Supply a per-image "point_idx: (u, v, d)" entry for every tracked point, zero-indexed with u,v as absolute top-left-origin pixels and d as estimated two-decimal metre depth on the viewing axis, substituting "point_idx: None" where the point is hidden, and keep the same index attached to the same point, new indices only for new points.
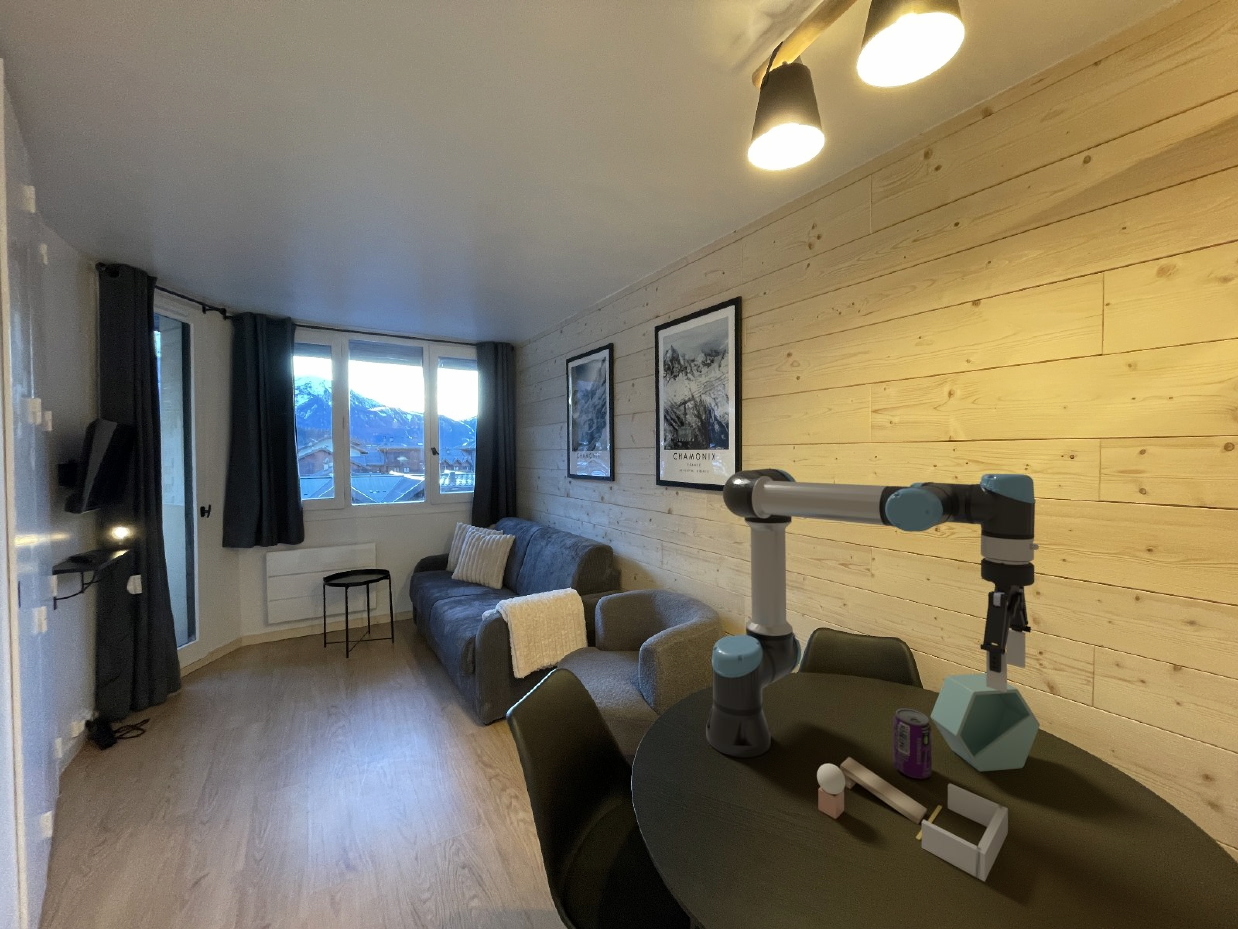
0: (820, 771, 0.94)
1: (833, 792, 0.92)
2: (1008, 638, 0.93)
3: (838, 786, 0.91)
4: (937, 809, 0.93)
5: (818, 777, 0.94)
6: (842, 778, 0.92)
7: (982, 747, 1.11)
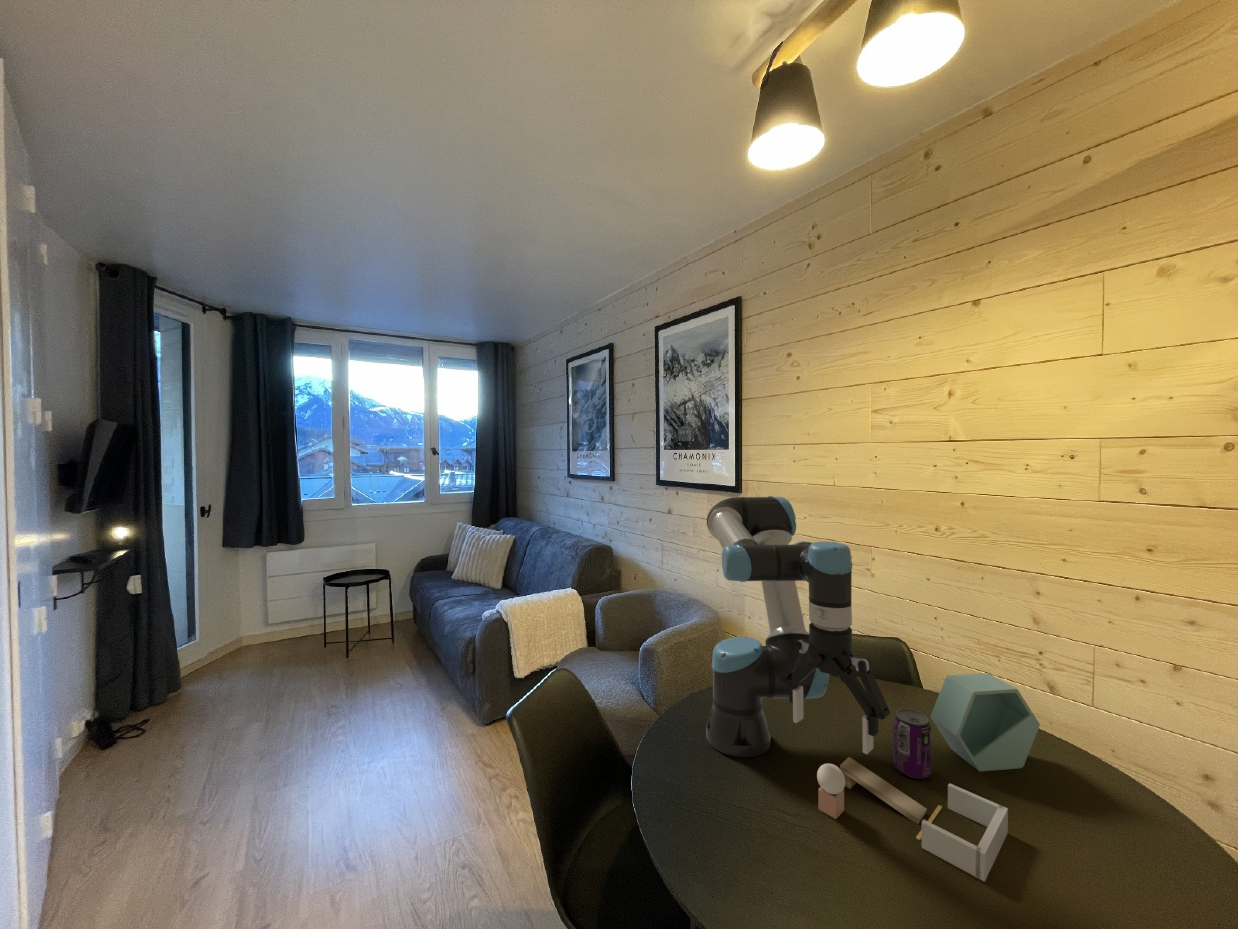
0: (820, 771, 0.94)
1: (833, 792, 0.92)
2: None
3: (838, 786, 0.91)
4: (937, 809, 0.93)
5: (818, 777, 0.94)
6: (842, 778, 0.92)
7: (982, 747, 1.11)
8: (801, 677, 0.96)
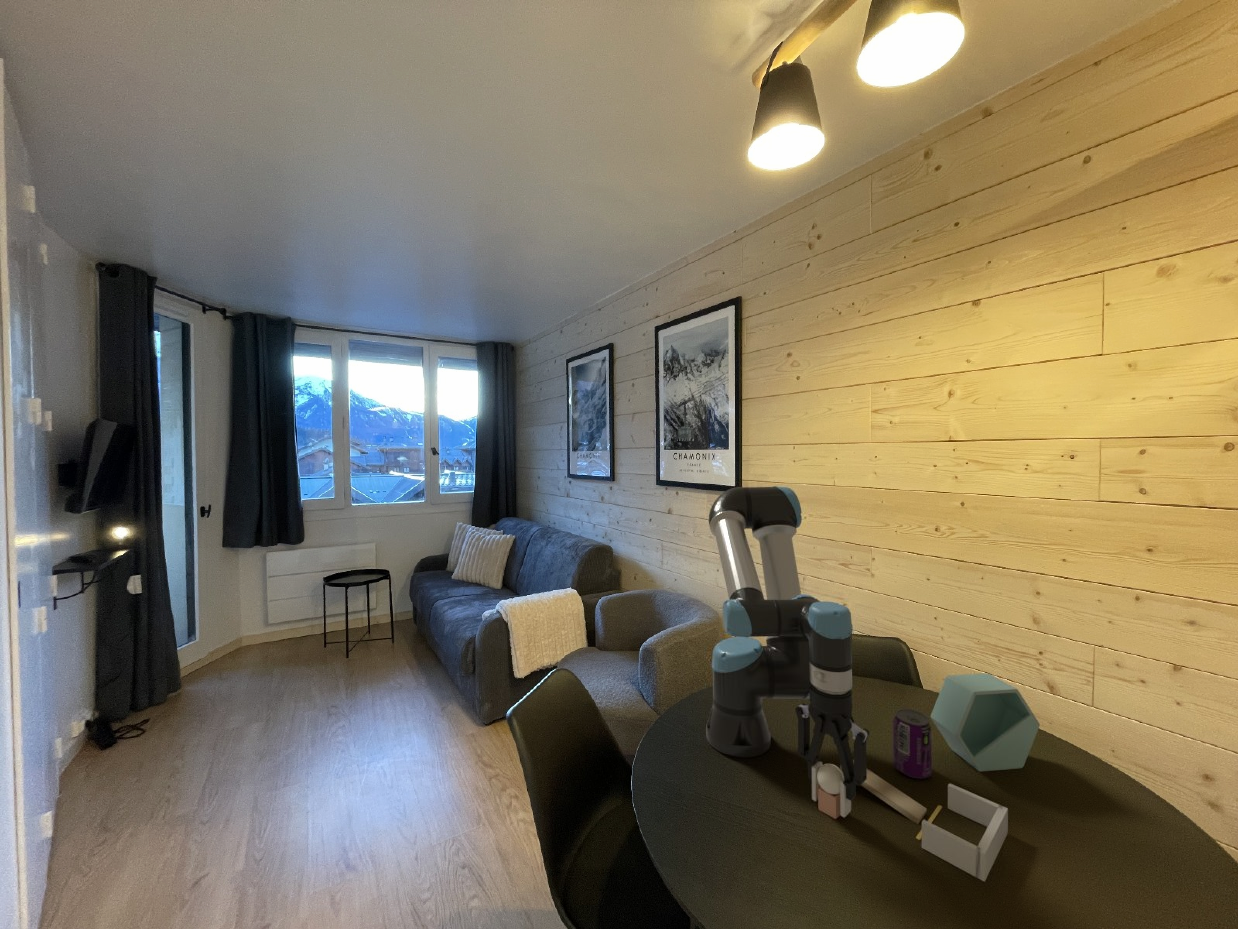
0: (820, 771, 0.94)
1: (833, 792, 0.92)
2: None
3: (838, 786, 0.91)
4: (937, 809, 0.93)
5: (818, 777, 0.94)
6: (842, 778, 0.92)
7: (982, 747, 1.11)
8: (814, 748, 0.95)
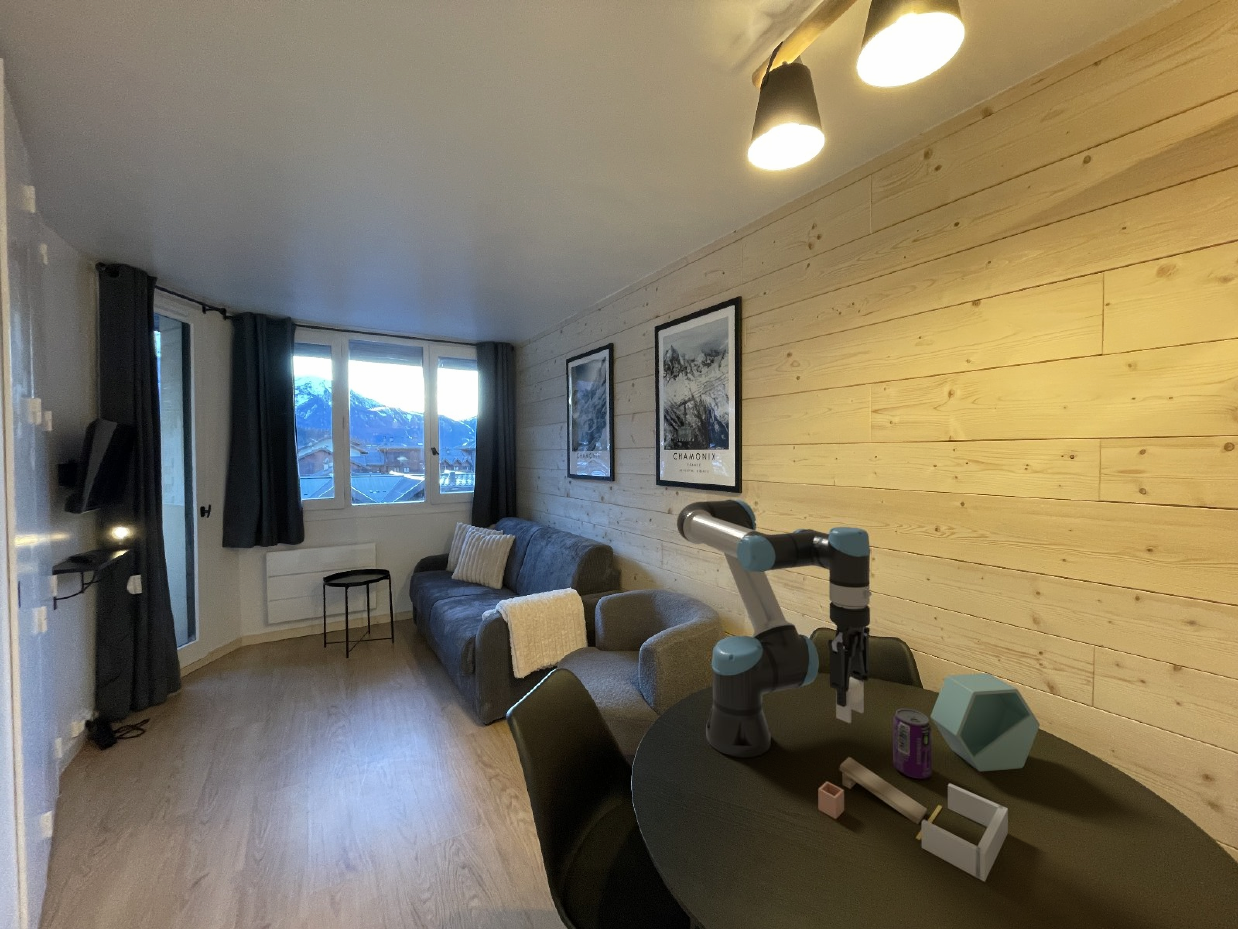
0: (854, 688, 0.99)
1: None
2: None
3: None
4: (937, 809, 0.93)
5: (856, 694, 0.98)
6: None
7: (982, 747, 1.11)
8: (849, 671, 0.98)
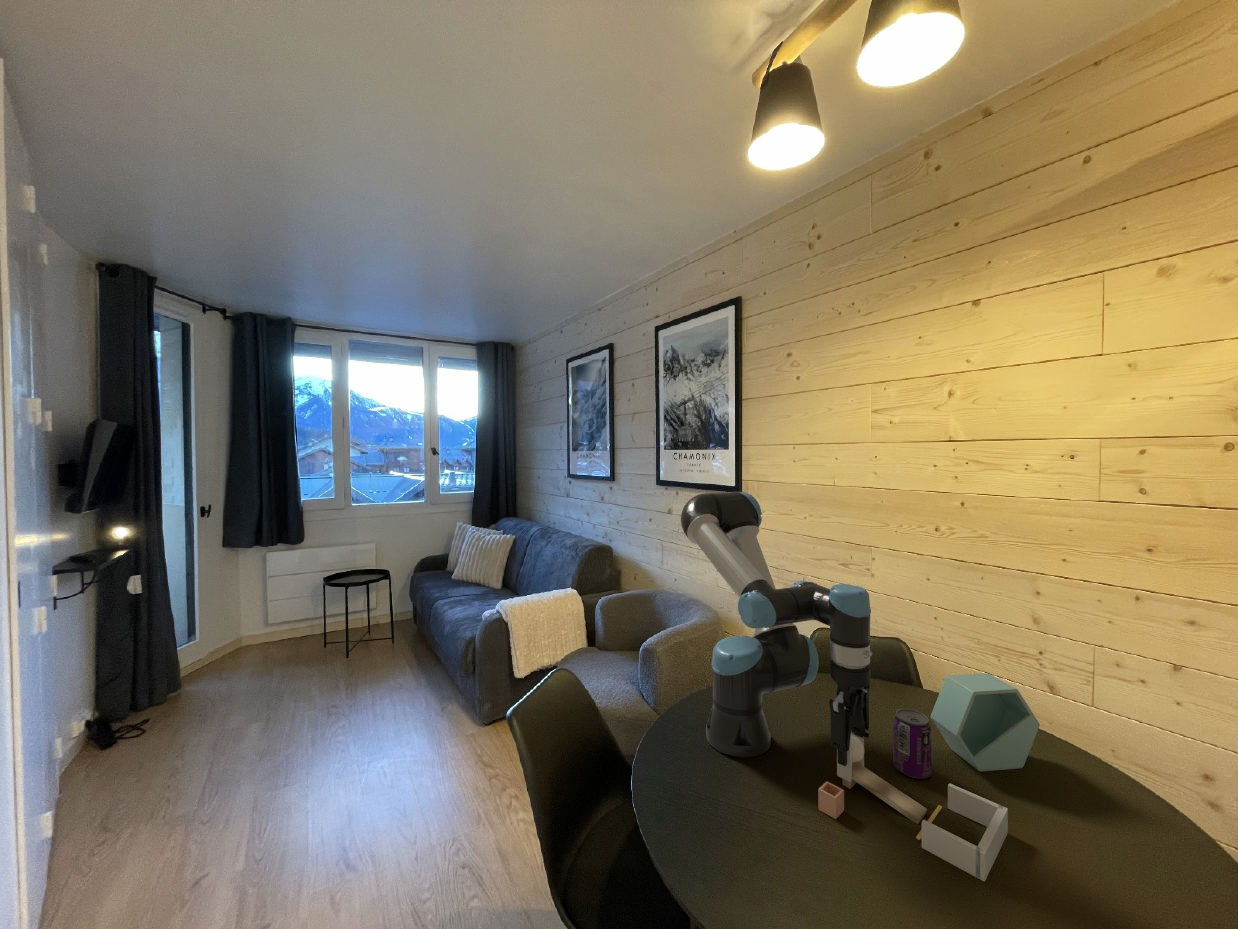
0: (855, 747, 0.99)
1: None
2: None
3: None
4: (937, 809, 0.93)
5: (856, 753, 0.99)
6: None
7: (982, 747, 1.11)
8: (850, 730, 0.98)
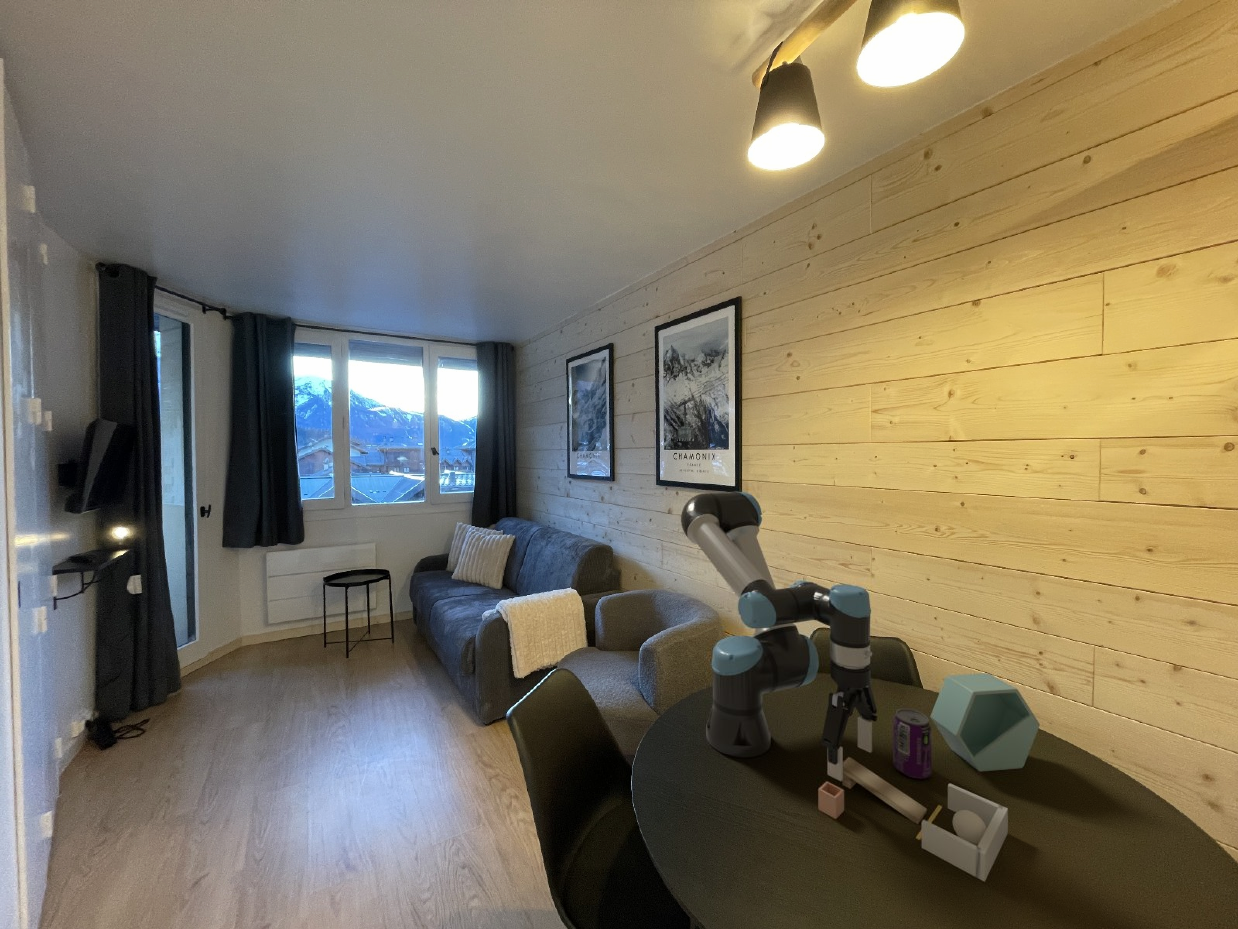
0: None
1: None
2: (859, 725, 1.06)
3: None
4: (937, 809, 0.93)
5: (957, 834, 0.86)
6: None
7: (982, 747, 1.11)
8: (844, 729, 0.97)
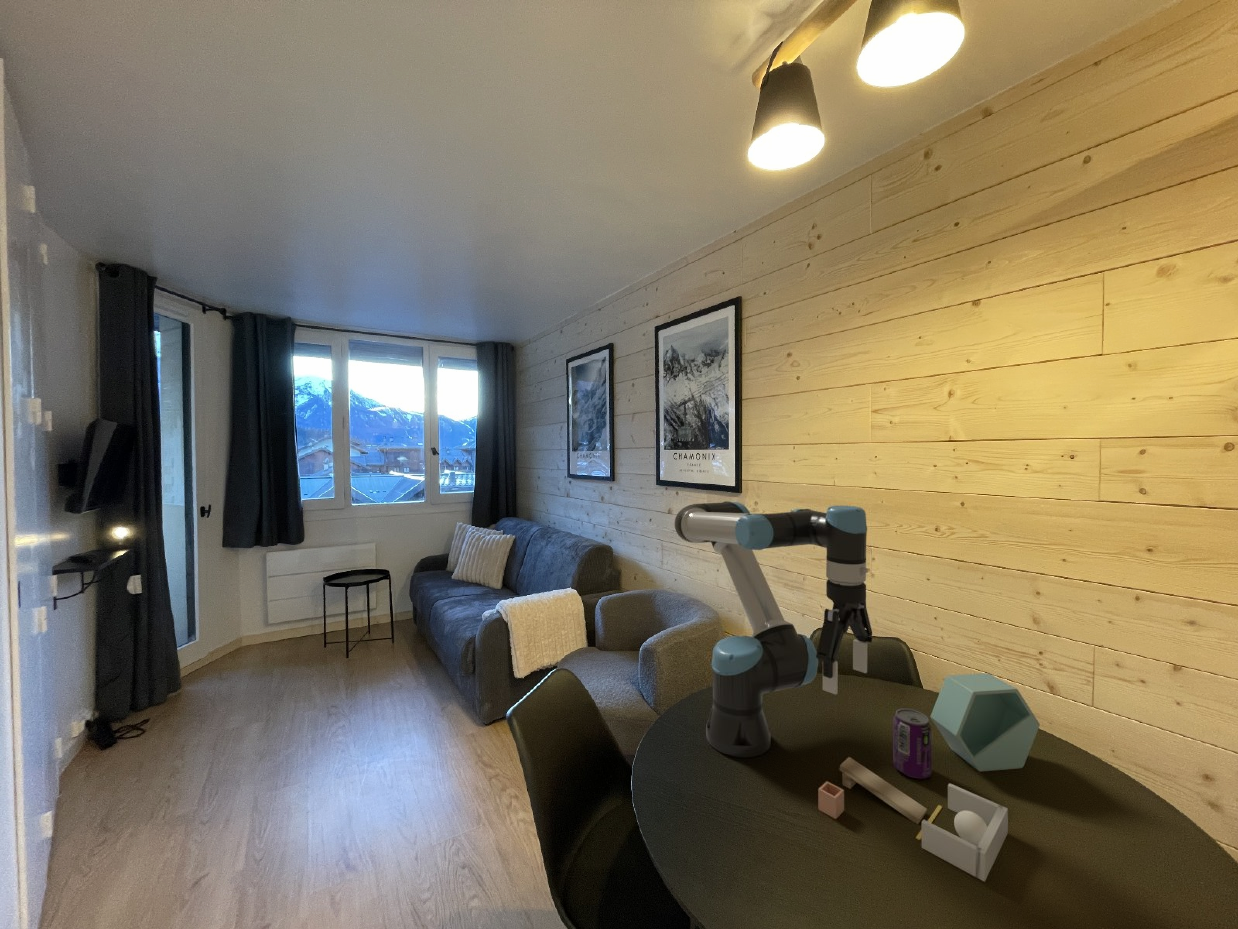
0: None
1: None
2: (854, 647, 1.07)
3: None
4: (937, 809, 0.93)
5: (958, 833, 0.86)
6: None
7: (982, 747, 1.11)
8: (839, 644, 0.97)
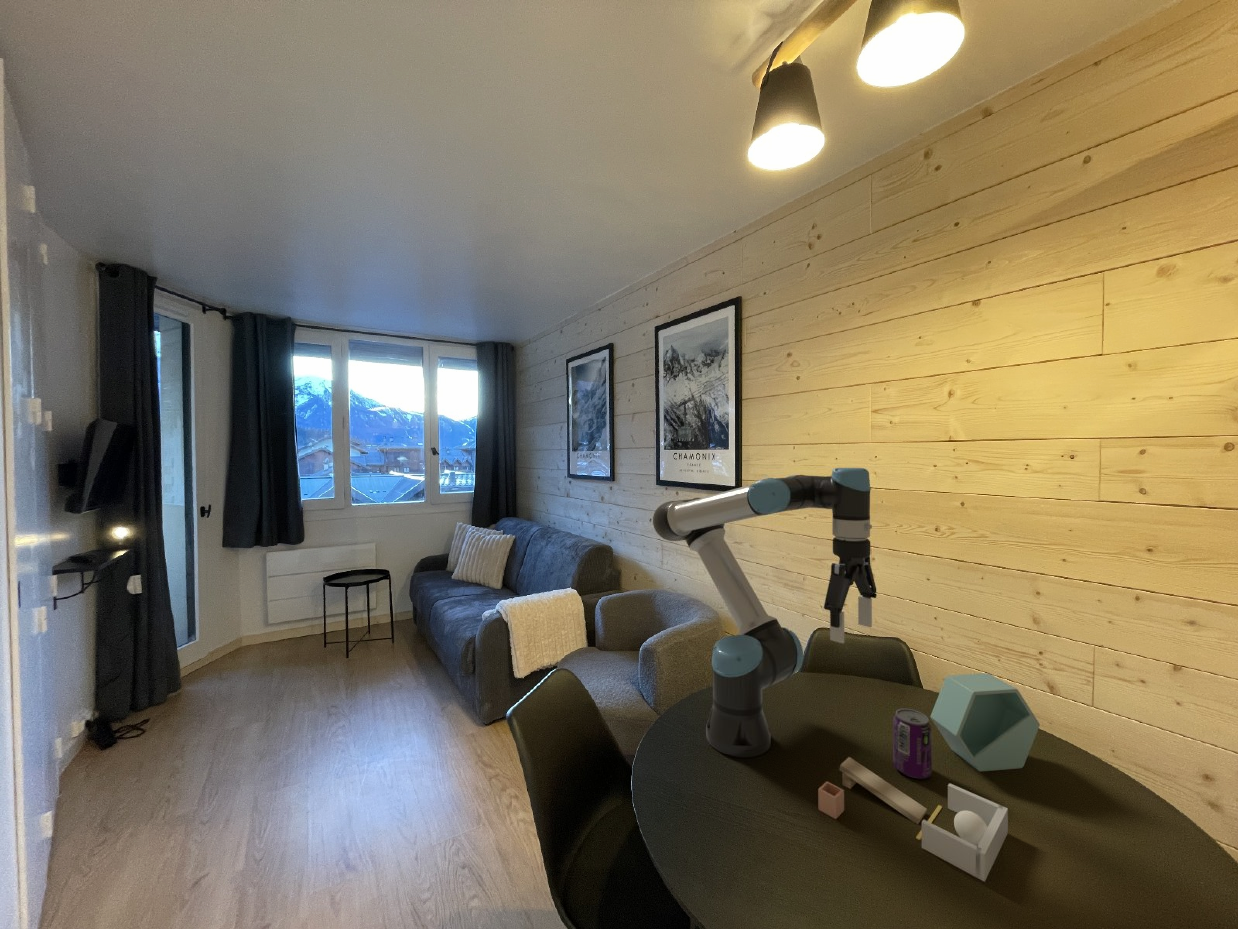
0: None
1: None
2: (859, 603, 1.13)
3: None
4: (937, 809, 0.93)
5: (958, 833, 0.86)
6: None
7: (982, 747, 1.11)
8: (845, 596, 1.03)
